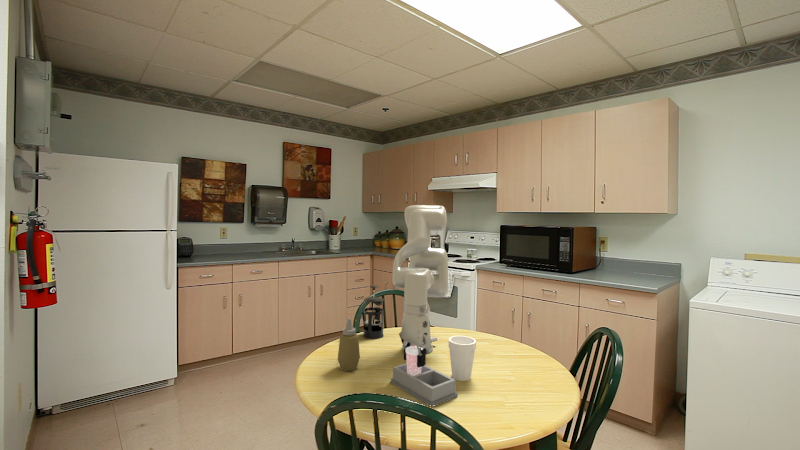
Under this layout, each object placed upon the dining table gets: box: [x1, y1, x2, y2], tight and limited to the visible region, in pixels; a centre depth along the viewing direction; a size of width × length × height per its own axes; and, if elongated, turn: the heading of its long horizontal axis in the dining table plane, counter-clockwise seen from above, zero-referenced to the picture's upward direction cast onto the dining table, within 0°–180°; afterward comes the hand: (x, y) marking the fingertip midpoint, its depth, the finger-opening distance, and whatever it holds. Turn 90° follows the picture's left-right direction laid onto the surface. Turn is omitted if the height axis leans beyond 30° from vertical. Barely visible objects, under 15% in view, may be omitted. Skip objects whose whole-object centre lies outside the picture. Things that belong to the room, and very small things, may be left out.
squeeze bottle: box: [337, 318, 361, 372], centre depth 137 cm, size 8×8×18 cm
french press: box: [362, 285, 385, 340], centre depth 174 cm, size 12×9×23 cm
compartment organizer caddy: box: [390, 362, 459, 408], centre depth 122 cm, size 20×11×5 cm, turn 38°
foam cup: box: [448, 335, 477, 382], centre depth 132 cm, size 10×9×13 cm
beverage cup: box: [405, 345, 423, 376], centre depth 126 cm, size 6×6×14 cm
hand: (414, 362), depth 126 cm, fingers closed on beverage cup, 6 cm apart
